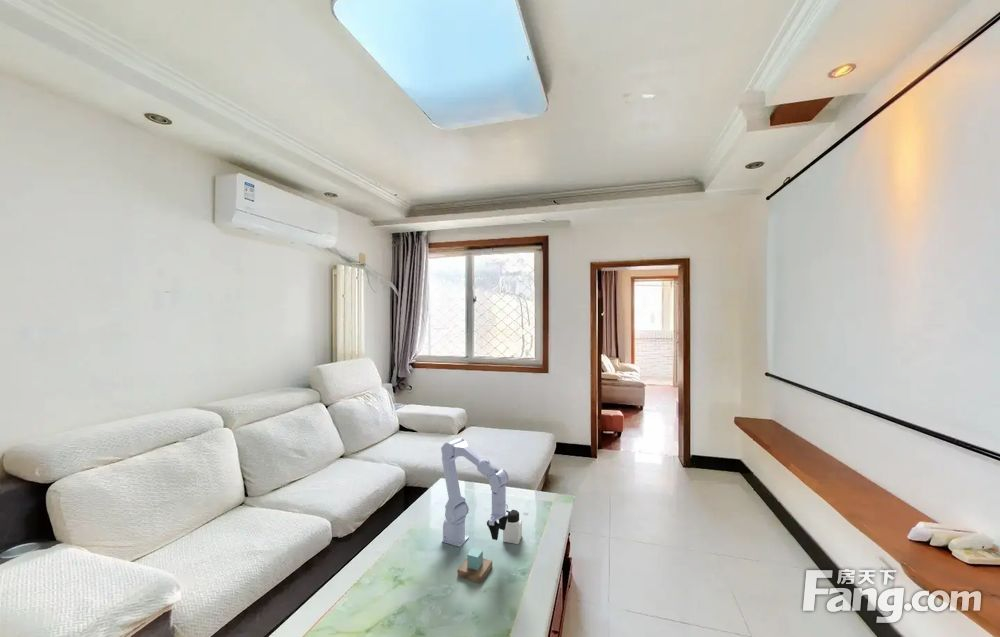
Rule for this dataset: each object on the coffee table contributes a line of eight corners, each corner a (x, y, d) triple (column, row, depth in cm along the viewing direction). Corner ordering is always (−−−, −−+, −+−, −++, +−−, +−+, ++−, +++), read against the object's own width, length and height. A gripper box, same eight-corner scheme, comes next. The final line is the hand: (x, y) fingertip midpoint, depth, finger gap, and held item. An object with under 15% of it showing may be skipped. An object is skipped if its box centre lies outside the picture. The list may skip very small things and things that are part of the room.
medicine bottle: (522, 535, 172) (522, 509, 172) (518, 544, 165) (518, 517, 165) (506, 533, 174) (506, 506, 174) (502, 542, 167) (502, 514, 167)
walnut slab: (457, 577, 146) (457, 569, 146) (469, 561, 155) (469, 554, 155) (481, 584, 142) (481, 576, 142) (492, 568, 151) (492, 560, 151)
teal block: (467, 567, 147) (467, 554, 147) (472, 560, 151) (472, 547, 151) (477, 570, 145) (477, 557, 145) (482, 563, 149) (482, 550, 149)
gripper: (500, 511, 148) (500, 546, 148) (514, 495, 161) (514, 527, 161) (484, 507, 151) (484, 542, 151) (499, 492, 164) (499, 523, 164)
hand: (498, 534), depth 156 cm, fingers open, 7 cm apart
